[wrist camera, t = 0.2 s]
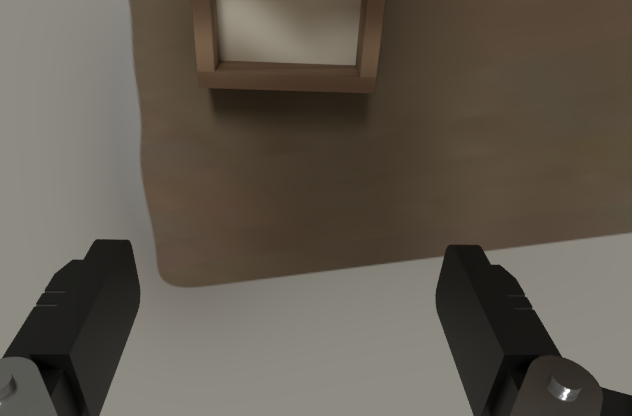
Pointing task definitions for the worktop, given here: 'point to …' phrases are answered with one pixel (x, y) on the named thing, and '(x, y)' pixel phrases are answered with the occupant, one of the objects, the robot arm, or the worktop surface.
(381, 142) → the worktop surface
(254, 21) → the walnut holder
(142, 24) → the worktop surface
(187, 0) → the worktop surface
